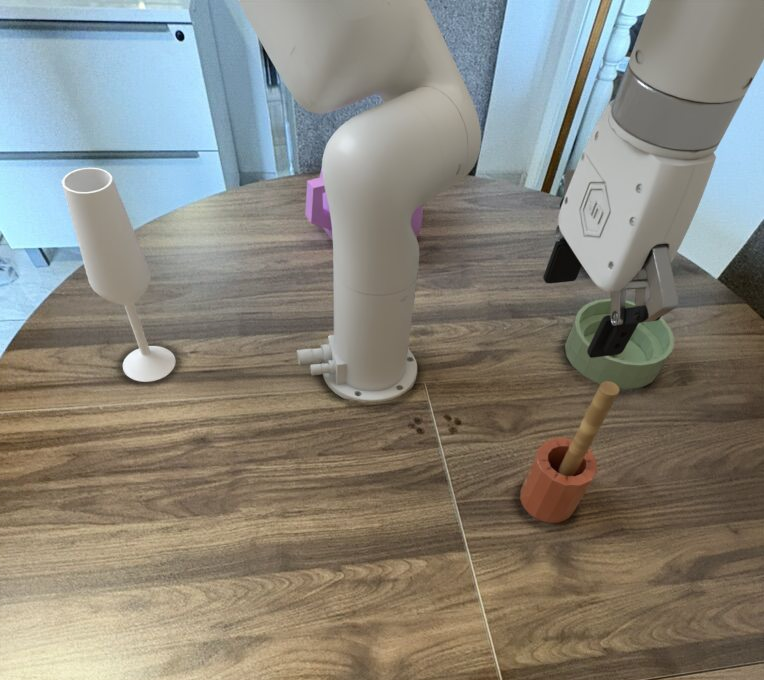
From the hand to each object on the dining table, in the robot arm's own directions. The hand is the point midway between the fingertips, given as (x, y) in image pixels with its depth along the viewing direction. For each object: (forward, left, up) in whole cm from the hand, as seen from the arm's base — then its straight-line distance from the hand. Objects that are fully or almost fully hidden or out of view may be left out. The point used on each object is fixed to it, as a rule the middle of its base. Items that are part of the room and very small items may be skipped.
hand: (580, 315), depth 55 cm
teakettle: (-5, +52, -23) cm, 57 cm away
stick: (+2, -5, -22) cm, 23 cm away
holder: (+2, -5, -23) cm, 24 cm away
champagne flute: (-41, +27, -23) cm, 55 cm away
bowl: (+21, +16, -23) cm, 35 cm away
